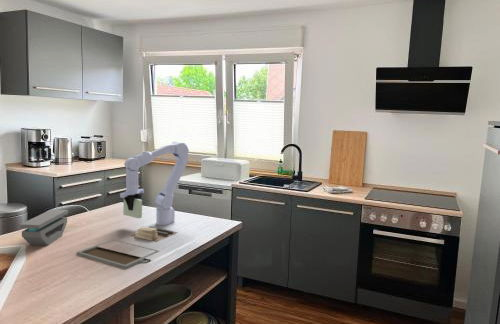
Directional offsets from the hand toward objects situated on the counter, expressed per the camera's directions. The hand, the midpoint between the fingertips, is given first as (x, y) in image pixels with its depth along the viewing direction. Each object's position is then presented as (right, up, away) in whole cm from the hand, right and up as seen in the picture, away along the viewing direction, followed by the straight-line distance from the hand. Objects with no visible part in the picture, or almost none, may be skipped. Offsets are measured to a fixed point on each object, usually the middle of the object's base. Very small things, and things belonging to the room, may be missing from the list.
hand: (132, 209), depth 188 cm
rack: (+13, -12, -8) cm, 19 cm away
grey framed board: (+5, -15, -32) cm, 36 cm away
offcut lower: (+11, -11, -13) cm, 20 cm away
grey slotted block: (-32, -12, -19) cm, 39 cm away
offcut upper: (+11, -9, -13) cm, 20 cm away
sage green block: (0, -3, 0) cm, 3 cm away
